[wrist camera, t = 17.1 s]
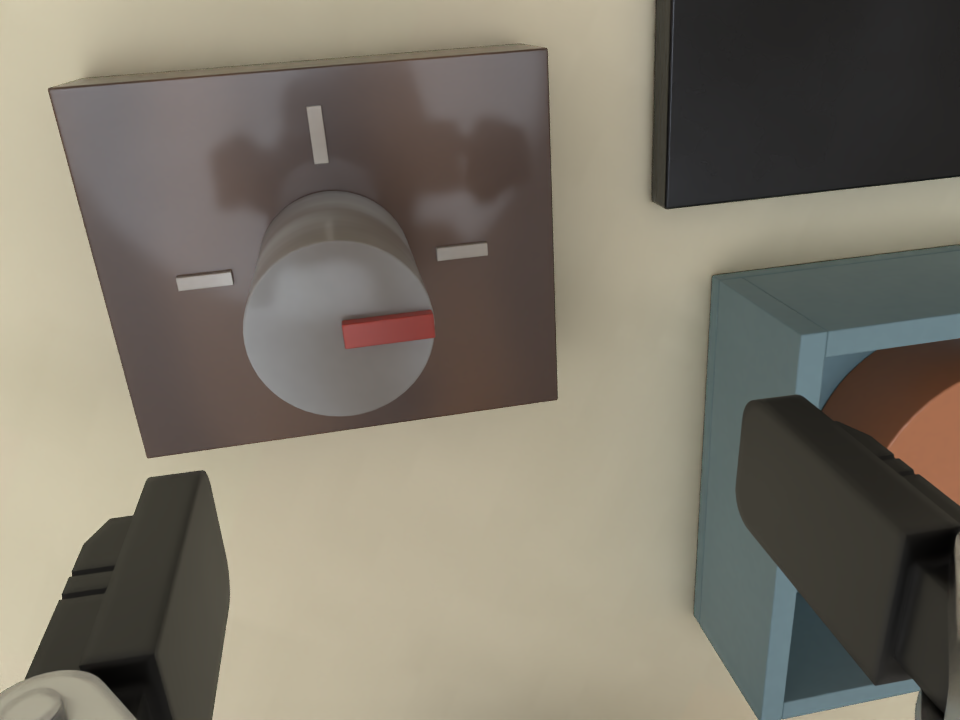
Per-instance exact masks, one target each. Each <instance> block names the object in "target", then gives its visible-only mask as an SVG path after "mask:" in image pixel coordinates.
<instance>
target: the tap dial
mask: <svg viewBox="0 0 960 720" xmlns="http://www.w3.org/2000/svg"><path fill="white" fill-rule="evenodd" d="M243 337H244V344H245V348H246V352H247V355H248V358H249V360H250V362H251V365H252V367H253V368H254V370H255V372H256V373H257V375H258V376H259V378H260V379H261V380H262V381H263V383H264V384H265V385H266V386H267V387H268V388H269V389H270V390H271V391H272V392H273V393H274V394H276V395H277V396H278V397H280V398H281V399H282V400H284V401H286V402H287V403H289V404H291V405H293V406H295V407H297V408H299V409H302V410H304V411H307V412H311V413H315V414H319V415H325V416H353V415H358V414H363V413H367V412H370V411H373V410H376V409H378V408H380V407H383V406H385V405H387V404H388V403H390V402H392V401H393V400H395V399H397V398H398V397H399V396H400V395H402V394H403V393H404V392H405V391H406V390H407V389H408V388H409V387H410V386H411V385H412V384H413V383H414V382H415V381H416V379H417V378H418V377H419V376H420V374H421V373H422V371H423V369H424V367H425V366H426V364H427V361H428V359H429V356H430V354H431V350H432V346H433V342H434V338H435V321H434V314H433V308H432V305H431V302H430V299H429V296H428V293H427V291H426V288H425V286H424V283H423V280H422V278H421V275H420V273H419V270H418V267H417V265H416V262H415V260H414V257H413V254H412V252H411V249H410V247H409V244H408V241H407V239H406V237H405V235H404V233H403V230H402V229H401V227H400V226H399V224H398V223H397V221H396V220H395V219H394V218H393V217H392V215H391V214H390V213H388V212H387V211H386V210H385V209H384V208H383V207H381V206H380V205H378V204H377V203H376V202H374V201H372V200H370V199H368V198H366V197H363V196H361V195H358V194H354V193H350V192H344V191H324V192H318V193H313V194H310V195H307V196H304V197H302V198H300V199H298V200H296V201H294V202H293V203H291V204H290V205H288V206H287V207H286V208H284V209H283V210H282V211H281V212H280V213H279V214H278V215H277V216H276V217H275V218H274V220H273V221H272V222H271V224H270V225H269V227H268V229H267V231H266V233H265V235H264V237H263V240H262V243H261V247H260V251H259V255H258V259H257V263H256V267H255V271H254V275H253V279H252V283H251V287H250V291H249V295H248V299H247V303H246V307H245V312H244V318H243Z"/></svg>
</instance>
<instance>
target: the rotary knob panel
mask: <svg viewBox="0 0 960 720" xmlns="http://www.w3.org/2000/svg"><path fill="white" fill-rule="evenodd" d="M48 92H49V96H50V99H51V103H52V107H53V110H54V114H55V118H56V122H57V125H58V129H59V133H60V136H61V140H62V144H63V148H64V151H65V155H66V159H67V162H68V166H69V170H70V174H71V177H72V181H73V185H74V188H75V192H76V196H77V200H78V203H79V207H80V211H81V214H82V218H83V222H84V226H85V229H86V233H87V237H88V240H89V244H90V248H91V252H92V255H93V259H94V263H95V266H96V270H97V274H98V278H99V281H100V285H101V289H102V292H103V296H104V300H105V303H106V307H107V311H108V315H109V318H110V322H111V326H112V329H113V333H114V337H115V341H116V344H117V348H118V352H119V355H120V359H121V363H122V367H123V370H124V374H125V378H126V381H127V385H128V389H129V393H130V396H131V400H132V404H133V407H134V411H135V415H136V419H137V422H138V426H139V430H140V433H141V437H142V441H143V445H144V448H145V452H146V456H147V458H154V457H161V456H168V455H175V454H182V453H189V452H195V451H202V450H209V449H216V448H223V447H230V446H237V445H244V444H251V443H258V442H265V441H272V440H279V439H286V438H293V437H300V436H307V435H314V434H321V433H328V432H335V431H342V430H349V429H356V428H363V427H370V426H377V425H384V424H391V423H398V422H405V421H412V420H419V419H426V418H433V417H440V416H447V415H454V414H461V413H468V412H475V411H482V410H489V409H496V408H503V407H510V406H517V405H524V404H531V403H538V402H545V401H552V400H557V399H558V391H557V356H556V321H555V287H554V252H553V217H552V182H551V148H550V113H549V78H548V50H547V48H544V47H538V46H531V45H525V44H509V45H496V46H484V47H471V48H458V49H446V50H433V51H421V52H408V53H395V54H383V55H370V56H357V57H345V58H332V59H320V60H307V61H294V62H282V63H269V64H257V65H244V66H231V67H219V68H206V69H194V70H181V71H168V72H156V73H143V74H131V75H118V76H105V77H93V78H82V79H78V80H75V81H71V82H68V83H64V84H61V85H57V86H54V87H50V88H48ZM324 191H344V192H350V193H354V194H358V195H361V196H363V197H366V198H368V199H370V200H372V201H374V202H376V203H377V204H378V205H380V206H381V207H383V208H384V209H385V210H386V211H387V212H388V213H390V214H391V215H392V217H393V218H394V219H395V220H396V221H397V223H398V224H399V226H400V227H401V229H402V230H403V233H404V235H405V237H406V239H407V241H408V244H409V247H410V249H411V252H412V254H413V257H414V260H415V262H416V265H417V267H418V270H419V273H420V275H421V278H422V280H423V283H424V286H425V288H426V291H427V293H428V296H429V299H430V302H431V305H432V308H433V314H434V321H435V338H434V342H433V346H432V350H431V354H430V356H429V359H428V361H427V364H426V366H425V367H424V369H423V371H422V373H421V374H420V376H419V377H418V378H417V379H416V381H415V382H414V383H413V384H412V385H411V386H410V387H409V388H408V389H407V390H406V391H405V392H404V393H403V394H402V395H400V396H399V397H398V398H397V399H395V400H393V401H392V402H390V403H388V404H387V405H385V406H383V407H380V408H378V409H376V410H373V411H370V412H367V413H363V414H358V415H353V416H325V415H319V414H315V413H311V412H307V411H304V410H302V409H299V408H297V407H295V406H293V405H291V404H289V403H287V402H286V401H284V400H282V399H281V398H280V397H278V396H277V395H276V394H274V393H273V392H272V391H271V390H270V389H269V388H268V387H267V386H266V385H265V384H264V383H263V381H262V380H261V379H260V378H259V376H258V375H257V373H256V372H255V370H254V368H253V367H252V365H251V362H250V360H249V358H248V355H247V352H246V348H245V344H244V337H243V318H244V312H245V307H246V303H247V299H248V295H249V291H250V287H251V283H252V279H253V275H254V271H255V267H256V263H257V259H258V255H259V251H260V247H261V243H262V240H263V237H264V235H265V233H266V231H267V229H268V227H269V225H270V224H271V222H272V221H273V220H274V218H275V217H276V216H277V215H278V214H279V213H280V212H281V211H282V210H283V209H284V208H286V207H287V206H288V205H290V204H291V203H293V202H294V201H296V200H298V199H300V198H302V197H304V196H307V195H310V194H313V193H318V192H324Z"/></svg>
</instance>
